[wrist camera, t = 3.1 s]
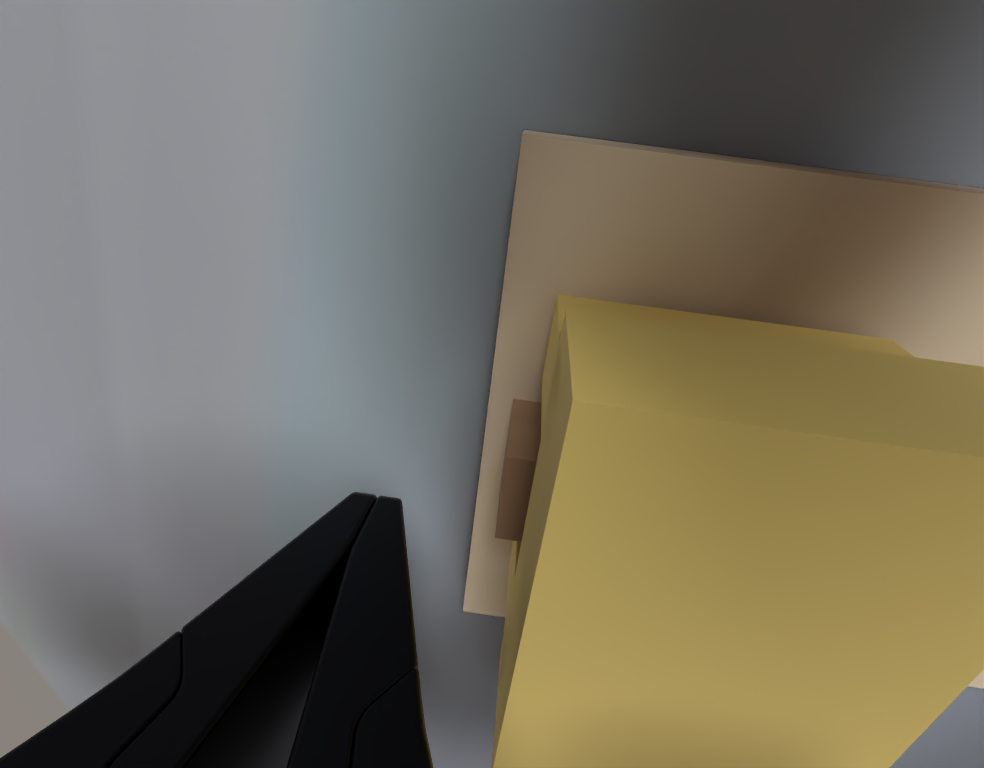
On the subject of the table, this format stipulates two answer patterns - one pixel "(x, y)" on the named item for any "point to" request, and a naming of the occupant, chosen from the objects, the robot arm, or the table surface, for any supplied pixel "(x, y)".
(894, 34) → the table surface
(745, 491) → the block
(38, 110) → the table surface
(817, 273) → the track
